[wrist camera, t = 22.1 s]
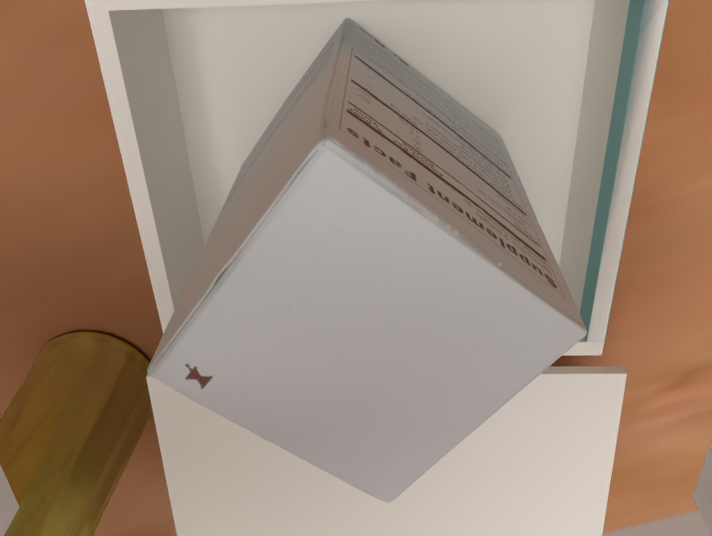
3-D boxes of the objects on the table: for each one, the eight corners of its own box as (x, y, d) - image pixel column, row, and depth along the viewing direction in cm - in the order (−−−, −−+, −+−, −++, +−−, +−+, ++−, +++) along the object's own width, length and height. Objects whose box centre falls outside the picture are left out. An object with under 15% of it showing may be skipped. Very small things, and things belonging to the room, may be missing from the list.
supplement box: (385, 267, 28) (384, 516, 17) (236, 165, 26) (129, 377, 15) (508, 134, 25) (601, 339, 14) (350, 6, 23) (317, 132, 12)
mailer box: (202, 283, 30) (169, 358, 25) (142, -36, 23) (82, -12, 18) (568, 278, 29) (602, 355, 24) (616, -55, 22) (675, -35, 18)
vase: (78, 306, 31) (-126, 599, 18) (186, 379, 33) (67, 686, 20) (14, 378, 33) (-204, 679, 21) (119, 442, 35) (-24, 750, 23)
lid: (131, 401, 23) (151, 367, 25) (183, 651, 29) (196, 607, 31) (641, 399, 23) (621, 364, 24) (598, 657, 28) (584, 612, 30)
